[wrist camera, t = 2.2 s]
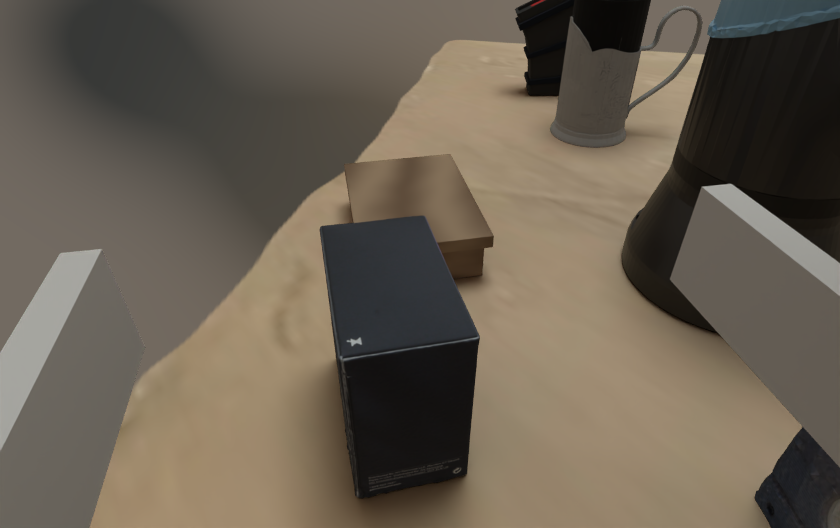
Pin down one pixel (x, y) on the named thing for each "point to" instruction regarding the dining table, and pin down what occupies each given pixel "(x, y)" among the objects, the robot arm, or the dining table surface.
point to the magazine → (545, 42)
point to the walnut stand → (424, 204)
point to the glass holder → (605, 69)
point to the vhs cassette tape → (802, 487)
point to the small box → (399, 353)
